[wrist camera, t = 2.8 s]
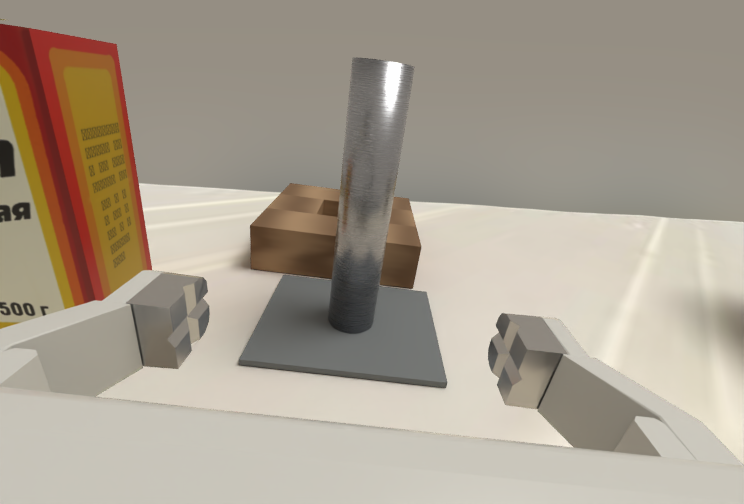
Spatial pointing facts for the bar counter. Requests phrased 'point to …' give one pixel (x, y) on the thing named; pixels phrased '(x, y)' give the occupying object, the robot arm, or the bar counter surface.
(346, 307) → the pin
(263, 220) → the hole block
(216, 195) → the bar counter surface
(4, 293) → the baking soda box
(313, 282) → the mat
